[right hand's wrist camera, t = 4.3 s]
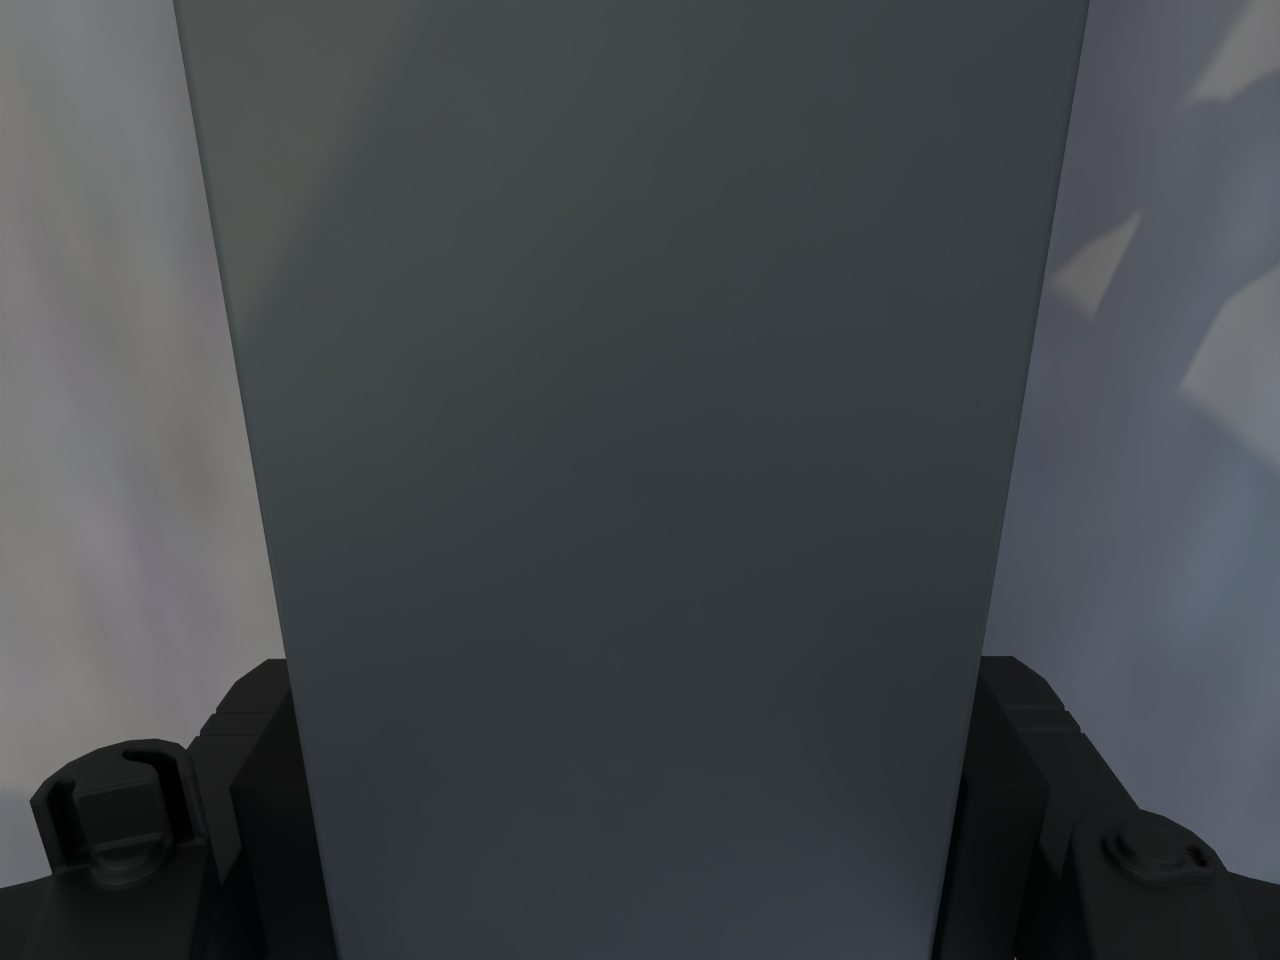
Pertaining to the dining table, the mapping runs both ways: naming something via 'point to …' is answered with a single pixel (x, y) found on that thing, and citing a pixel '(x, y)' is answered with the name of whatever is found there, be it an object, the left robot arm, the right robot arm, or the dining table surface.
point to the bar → (632, 445)
